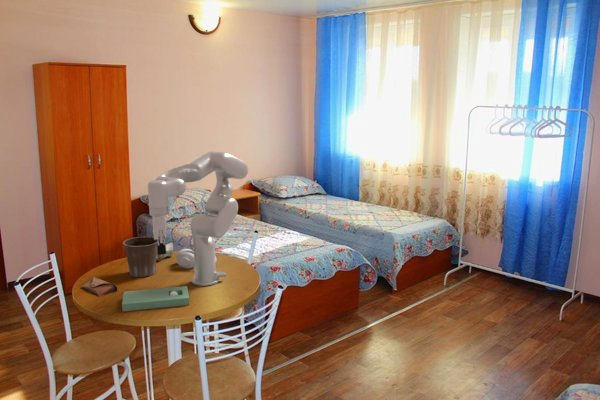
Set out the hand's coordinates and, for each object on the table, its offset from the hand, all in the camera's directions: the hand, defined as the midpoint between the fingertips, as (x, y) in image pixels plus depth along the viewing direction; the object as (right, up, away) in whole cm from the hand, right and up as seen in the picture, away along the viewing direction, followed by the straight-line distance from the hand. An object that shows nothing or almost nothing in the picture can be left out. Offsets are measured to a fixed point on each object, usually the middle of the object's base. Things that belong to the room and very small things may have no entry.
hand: (161, 253), depth 217 cm
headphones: (+5, -11, +49) cm, 50 cm away
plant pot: (-18, -13, +35) cm, 42 cm away
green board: (-3, -20, +1) cm, 20 cm away
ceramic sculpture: (-16, -9, +59) cm, 62 cm away
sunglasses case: (-32, -18, +14) cm, 39 cm away
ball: (+4, -18, +3) cm, 18 cm away
